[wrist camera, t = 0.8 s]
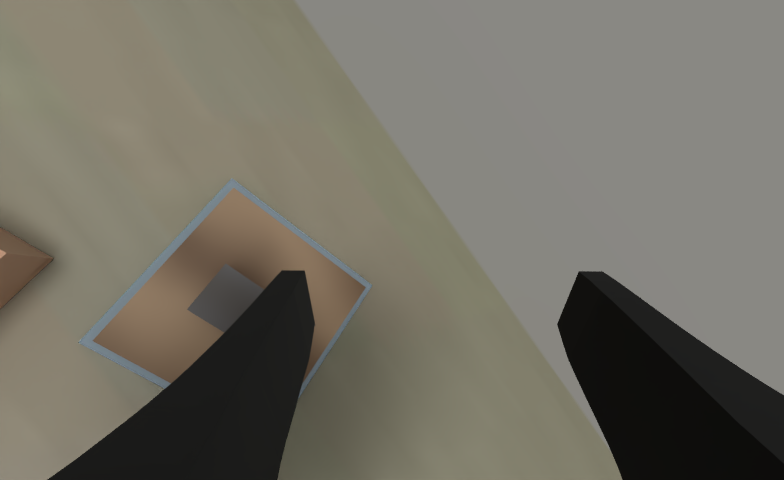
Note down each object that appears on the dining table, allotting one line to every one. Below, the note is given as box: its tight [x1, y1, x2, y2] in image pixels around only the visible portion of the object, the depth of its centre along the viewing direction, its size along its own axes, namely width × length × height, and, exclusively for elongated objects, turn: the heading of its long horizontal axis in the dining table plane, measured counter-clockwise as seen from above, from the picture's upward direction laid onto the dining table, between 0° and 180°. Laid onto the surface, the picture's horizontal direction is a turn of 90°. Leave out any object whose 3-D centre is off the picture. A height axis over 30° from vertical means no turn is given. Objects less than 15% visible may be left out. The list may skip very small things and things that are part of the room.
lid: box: [93, 188, 366, 384], centre depth 18 cm, size 10×10×5 cm
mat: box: [78, 179, 372, 398], centre depth 20 cm, size 11×11×1 cm
